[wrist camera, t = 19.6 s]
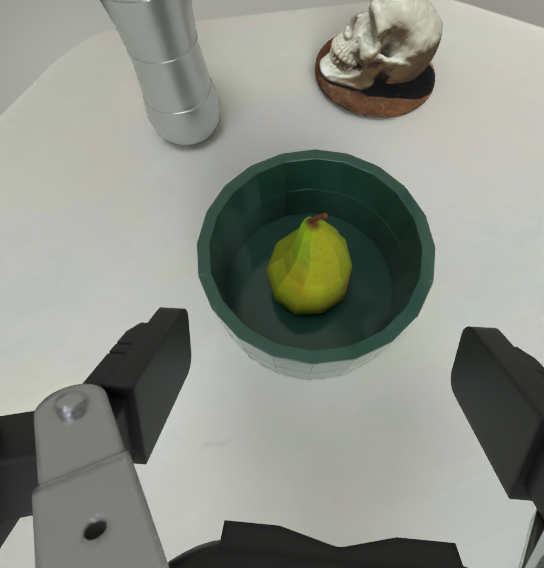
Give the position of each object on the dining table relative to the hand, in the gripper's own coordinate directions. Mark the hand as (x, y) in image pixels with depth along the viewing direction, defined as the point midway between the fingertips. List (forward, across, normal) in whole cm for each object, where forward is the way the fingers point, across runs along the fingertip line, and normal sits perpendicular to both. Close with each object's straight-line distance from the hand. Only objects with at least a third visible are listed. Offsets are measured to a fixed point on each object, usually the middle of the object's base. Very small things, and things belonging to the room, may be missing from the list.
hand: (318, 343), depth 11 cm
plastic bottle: (+30, +12, -5) cm, 32 cm away
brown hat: (+35, -6, -10) cm, 37 cm away
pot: (+18, 0, +6) cm, 19 cm away
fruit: (+18, 0, +6) cm, 19 cm away
